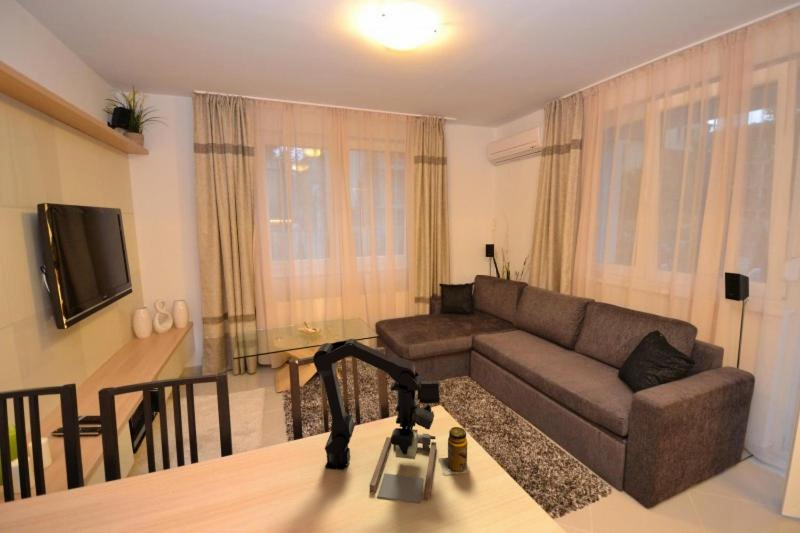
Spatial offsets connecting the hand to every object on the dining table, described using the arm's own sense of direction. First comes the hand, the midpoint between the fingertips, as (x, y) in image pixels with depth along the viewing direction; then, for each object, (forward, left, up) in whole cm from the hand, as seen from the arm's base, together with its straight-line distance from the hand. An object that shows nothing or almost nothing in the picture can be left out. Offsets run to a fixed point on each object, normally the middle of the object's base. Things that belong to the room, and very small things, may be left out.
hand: (406, 447), depth 113 cm
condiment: (+15, +2, -6) cm, 16 cm away
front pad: (0, -10, -6) cm, 12 cm away
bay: (0, -2, -6) cm, 6 cm away
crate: (0, 0, -2) cm, 2 cm away
